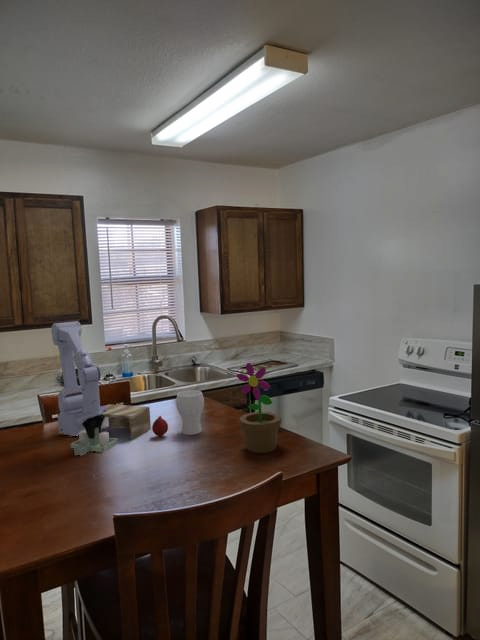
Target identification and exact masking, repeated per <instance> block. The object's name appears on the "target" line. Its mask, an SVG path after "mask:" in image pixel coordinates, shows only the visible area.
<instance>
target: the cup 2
mask: <svg viewBox="0 0 480 640" xmlns="http://www.w3.org/2000/svg"><path fill="white" fill-rule="evenodd" d="M204 399H205V398H204V395H203V392H202V391H201V390H193V389H192V390H185V391H184V390H183V391H179V392H178V393H177V394H176V400H175V404H176V405H175V408H176V409H177V412H178V414H179V416H180V417H181V424H182V426H181V434H183V435H185V436H187V435H188V436H193V435H198V434H200V433H201V432H203V429H202V424H201V416H202V413H203V411H204V407H205V400H204Z"/></svg>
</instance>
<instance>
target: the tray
mask: <svg viewBox="0 0 480 640" xmlns="http://www.w3.org/2000/svg"><path fill="white" fill-rule="evenodd" d="M89 442H90V443H89V444H87V445H84V444H83V445H80V441H79V439H78V440H75V441H73V442H72V443H70V444H69V445H70V446H69V447H70V449H71V448H74V449H73V451H74V456H77V455H80V456H79V457H82V455H83V456H84V455H86V454H88V453H90V452H93V451H96V452H95V453H105V452H107V451H108V450H110V449H112V448H114V447H115V446H116V445H118V444H119V438H116V437H109V444H107V445H105V446H103V447H100V444H99V428H98V427H95V437H94V439H90V438H89ZM89 451H90V452H89ZM87 452H88V453H87Z"/></svg>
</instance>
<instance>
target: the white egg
mask: <svg viewBox="0 0 480 640" xmlns="http://www.w3.org/2000/svg"><path fill="white" fill-rule="evenodd" d="M109 438H110V432H108V431H100V433H99V444H100V447H103V446H105V445H107V444H109Z"/></svg>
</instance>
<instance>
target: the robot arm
mask: <svg viewBox="0 0 480 640" xmlns="http://www.w3.org/2000/svg"><path fill="white" fill-rule="evenodd" d="M81 336H82V325H81V323H80V322H79V321H78V320H75V321H65V322H53V323H52V325H51V338H52V342H53V345H55V346H57V348H58V352H59V358H60V365H61V371H62V377H63V385H64V387H63V388H62V389H61V390H60V391H59V392H58V395H57V396H58V397H57V399H58V400H57V401H58V409H59V411H60V413H58V415H57V416H58V417H57V424H58V426H57V427H58V434H59V433H64V434H68V435H71V436H70V437H72V436H75V435H76V436H78V435H79V431H82V430H86V432H87V435H88V438H90V439H94V437H95V427H98V428H99V433H101V432H102V431H101V430H102V425H103V422H104V420H105V418H106V417H105V415H101V414H103V412H107V405H103V406H101V400H100V388H99V387H100V385H99V382H100V381H101V370H100V367H99V365H97V364H96V363H94V362H93V360H92V357H91V355H90V353H89V351H87V350H85V349H84V346H83V343H82V340H81ZM76 370H77V371H78V372H77V373H76ZM77 378H78V379H77ZM78 381H79V385H80V386H79V385H78ZM78 437H79V436H78Z"/></svg>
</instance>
